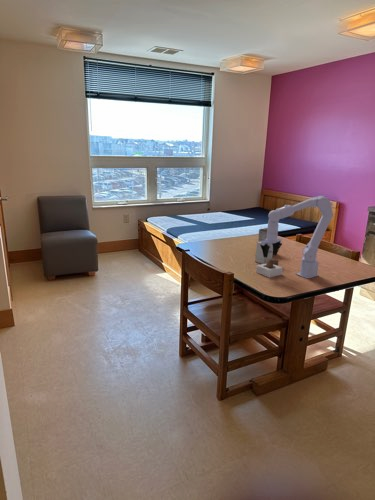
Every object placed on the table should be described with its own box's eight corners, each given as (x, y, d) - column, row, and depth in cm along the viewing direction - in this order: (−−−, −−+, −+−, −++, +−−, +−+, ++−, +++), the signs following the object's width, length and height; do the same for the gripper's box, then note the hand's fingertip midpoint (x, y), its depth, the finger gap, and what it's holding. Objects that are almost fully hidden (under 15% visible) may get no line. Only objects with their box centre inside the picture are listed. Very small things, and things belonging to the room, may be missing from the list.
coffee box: (265, 250, 239) (267, 227, 235) (272, 252, 235) (275, 229, 230) (256, 252, 234) (258, 229, 229) (264, 254, 229) (266, 230, 224)
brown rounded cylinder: (268, 271, 196) (270, 258, 194) (274, 273, 193) (275, 260, 191) (263, 272, 194) (265, 259, 192) (269, 275, 191) (270, 261, 189)
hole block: (268, 269, 201) (269, 262, 199) (281, 274, 193) (282, 267, 191) (256, 272, 195) (256, 265, 194) (269, 277, 187) (269, 270, 186)
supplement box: (263, 264, 208) (265, 244, 205) (254, 261, 214) (256, 241, 210) (271, 263, 212) (274, 243, 209) (263, 259, 218) (265, 240, 214)
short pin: (274, 265, 207) (274, 259, 206) (279, 267, 204) (280, 261, 203) (269, 266, 205) (270, 260, 204) (274, 268, 202) (275, 262, 201)
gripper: (275, 229, 197) (273, 252, 201) (257, 232, 189) (255, 256, 193) (285, 232, 191) (283, 255, 195) (267, 235, 183) (265, 259, 187)
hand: (270, 256), depth 193 cm, fingers open, 7 cm apart
